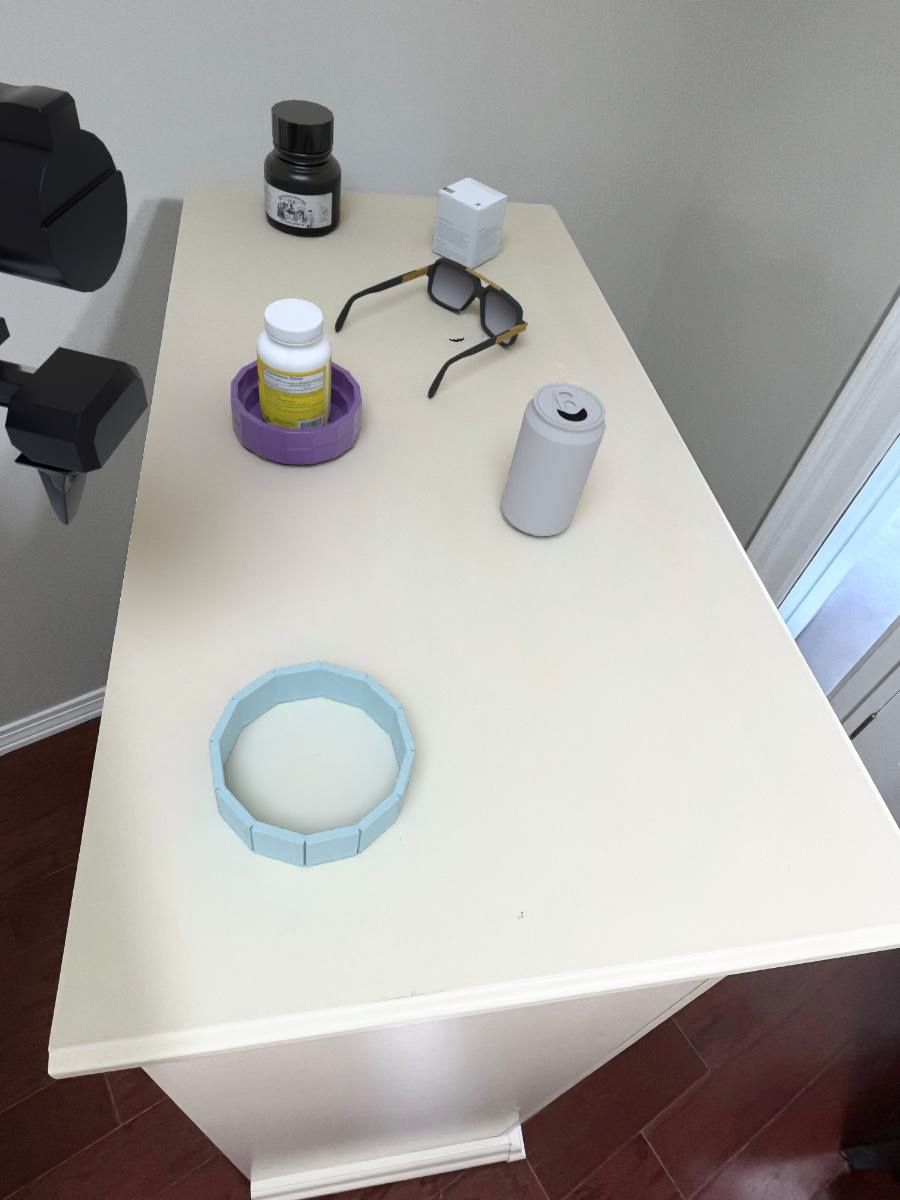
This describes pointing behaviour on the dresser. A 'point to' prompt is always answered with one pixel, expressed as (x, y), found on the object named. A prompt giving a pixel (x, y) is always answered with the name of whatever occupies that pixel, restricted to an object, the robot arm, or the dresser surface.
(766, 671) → the dresser surface
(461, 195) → the white cardboard box
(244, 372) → the purple bowl
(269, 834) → the light blue ring
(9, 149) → the robot arm
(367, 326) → the dresser surface
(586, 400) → the beverage can
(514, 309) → the sunglasses
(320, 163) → the ink bottle
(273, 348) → the pill bottle
